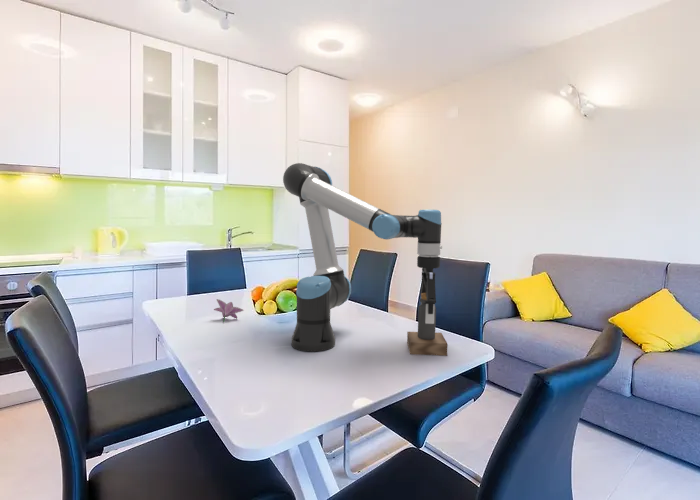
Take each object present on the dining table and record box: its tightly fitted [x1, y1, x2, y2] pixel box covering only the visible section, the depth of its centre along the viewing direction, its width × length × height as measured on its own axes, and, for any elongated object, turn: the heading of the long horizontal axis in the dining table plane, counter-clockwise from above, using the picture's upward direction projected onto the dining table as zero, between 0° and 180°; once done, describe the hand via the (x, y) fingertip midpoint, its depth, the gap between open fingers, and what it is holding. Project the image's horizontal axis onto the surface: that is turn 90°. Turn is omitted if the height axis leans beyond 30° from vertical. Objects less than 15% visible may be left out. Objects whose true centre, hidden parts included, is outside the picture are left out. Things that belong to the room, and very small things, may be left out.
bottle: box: [417, 292, 437, 340], centre depth 127 cm, size 6×6×15 cm
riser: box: [406, 331, 448, 356], centre depth 128 cm, size 12×12×4 cm
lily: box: [213, 299, 245, 321], centre depth 159 cm, size 12×12×10 cm
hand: (427, 318), depth 127 cm, fingers open, 13 cm apart
